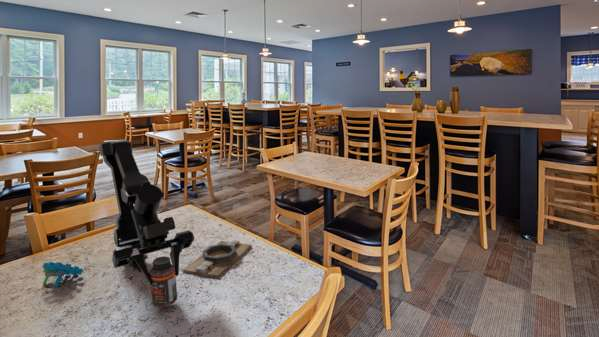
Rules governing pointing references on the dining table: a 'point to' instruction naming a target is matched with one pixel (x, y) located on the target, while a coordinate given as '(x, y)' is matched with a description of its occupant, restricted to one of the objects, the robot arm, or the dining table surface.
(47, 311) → the dining table surface
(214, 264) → the octagonal bottle holder
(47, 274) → the teal plastic irregular piece
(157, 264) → the supplement bottle
